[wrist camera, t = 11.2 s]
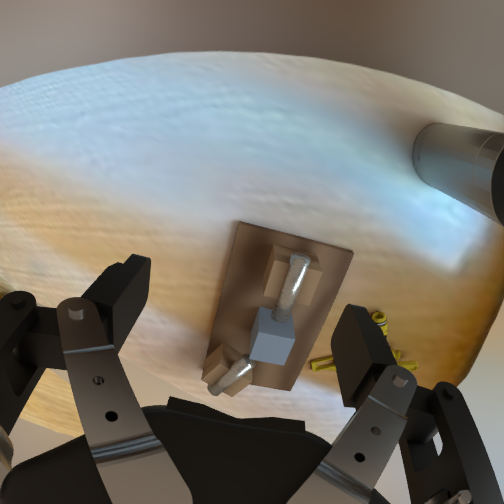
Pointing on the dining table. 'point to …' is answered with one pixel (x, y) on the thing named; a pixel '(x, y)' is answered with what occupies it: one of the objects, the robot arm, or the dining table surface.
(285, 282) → the shaft
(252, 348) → the block
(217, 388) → the shaft
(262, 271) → the base board
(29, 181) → the dining table surface
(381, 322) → the sprinkler
